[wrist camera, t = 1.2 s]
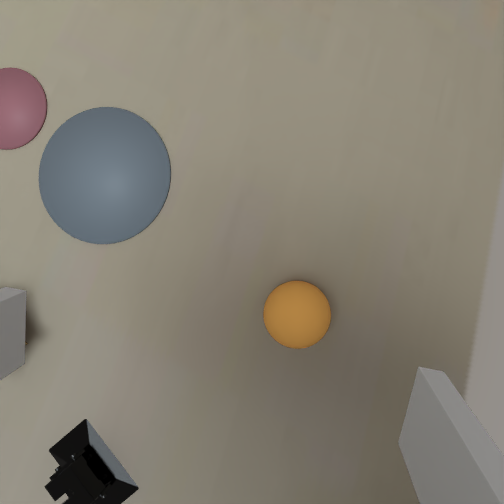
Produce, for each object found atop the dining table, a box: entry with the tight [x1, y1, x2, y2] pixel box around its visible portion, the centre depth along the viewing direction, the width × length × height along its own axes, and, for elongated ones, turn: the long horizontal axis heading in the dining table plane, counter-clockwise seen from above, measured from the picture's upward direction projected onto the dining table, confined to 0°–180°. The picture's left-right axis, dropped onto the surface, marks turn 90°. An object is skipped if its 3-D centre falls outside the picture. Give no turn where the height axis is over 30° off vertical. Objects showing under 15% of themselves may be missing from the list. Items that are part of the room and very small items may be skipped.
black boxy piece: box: [45, 419, 138, 504], centre depth 35 cm, size 12×7×5 cm, turn 40°
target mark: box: [39, 107, 171, 244], centre depth 37 cm, size 13×13×1 cm
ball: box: [263, 281, 331, 349], centre depth 32 cm, size 6×6×6 cm
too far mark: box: [0, 68, 47, 150], centre depth 38 cm, size 8×8×1 cm
